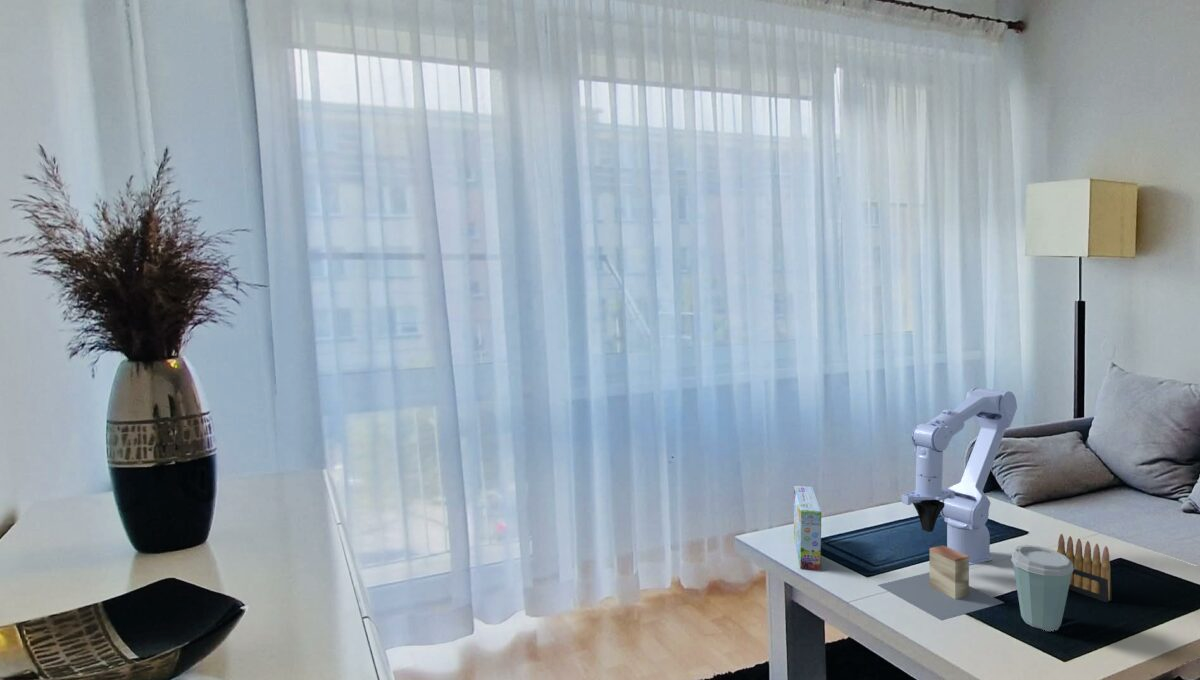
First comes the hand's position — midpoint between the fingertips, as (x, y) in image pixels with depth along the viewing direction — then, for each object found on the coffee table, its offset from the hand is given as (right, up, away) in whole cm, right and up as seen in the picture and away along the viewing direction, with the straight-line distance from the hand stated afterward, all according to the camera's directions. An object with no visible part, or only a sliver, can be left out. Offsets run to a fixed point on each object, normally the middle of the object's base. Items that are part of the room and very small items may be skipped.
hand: (927, 530), depth 162 cm
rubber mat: (-3, -12, -11) cm, 16 cm away
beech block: (0, -11, -10) cm, 15 cm away
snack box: (-24, -11, +15) cm, 31 cm away
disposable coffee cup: (+11, -12, -25) cm, 30 cm away
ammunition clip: (+29, -11, -12) cm, 33 cm away
